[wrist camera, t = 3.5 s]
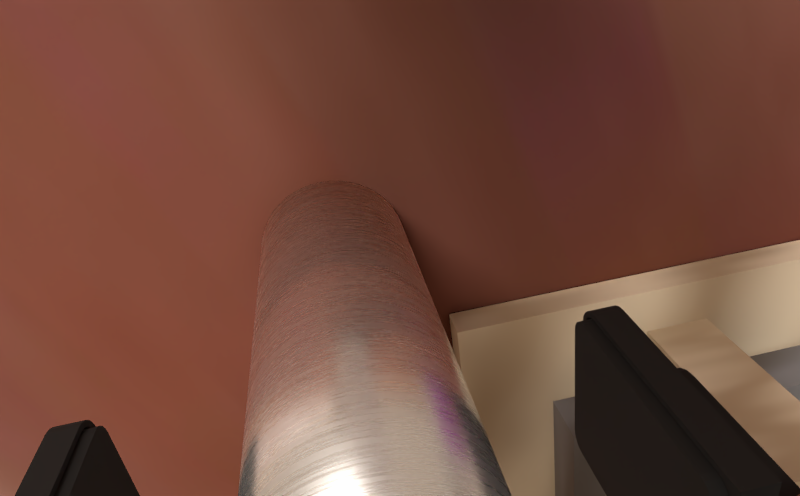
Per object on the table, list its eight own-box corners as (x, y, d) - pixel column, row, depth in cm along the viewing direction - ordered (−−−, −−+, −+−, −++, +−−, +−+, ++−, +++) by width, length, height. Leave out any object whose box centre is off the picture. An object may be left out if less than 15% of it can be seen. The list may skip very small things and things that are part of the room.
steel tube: (397, 164, 16) (613, 598, 5) (416, 295, 18) (602, 803, 7) (240, 193, 15) (135, 722, 5) (278, 324, 17) (259, 902, 7)
